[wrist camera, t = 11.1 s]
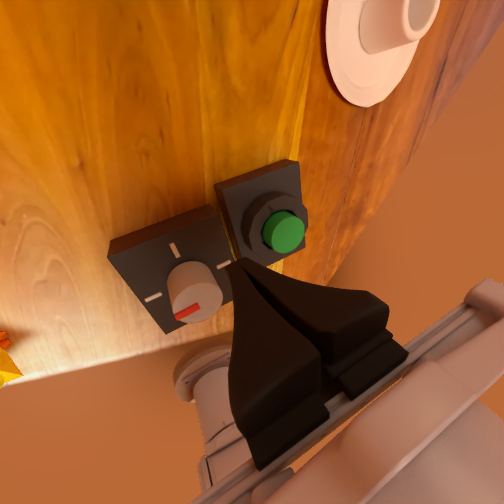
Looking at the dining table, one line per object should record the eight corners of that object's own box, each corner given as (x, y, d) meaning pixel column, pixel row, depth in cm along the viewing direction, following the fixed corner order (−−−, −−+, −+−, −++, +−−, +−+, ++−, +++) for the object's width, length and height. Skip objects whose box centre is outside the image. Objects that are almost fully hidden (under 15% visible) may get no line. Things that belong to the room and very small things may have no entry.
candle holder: (373, 126, 25) (411, 126, 21) (298, 65, 18) (335, 50, 15) (437, -6, 21) (496, -33, 17) (370, -144, 14) (443, -228, 11)
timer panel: (235, 279, 26) (245, 294, 24) (162, 314, 24) (166, 336, 21) (208, 203, 20) (219, 213, 18) (110, 240, 18) (106, 258, 16)
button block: (295, 240, 27) (315, 254, 24) (239, 266, 25) (254, 285, 22) (286, 158, 22) (311, 163, 19) (213, 184, 20) (228, 195, 17)
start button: (295, 237, 22) (306, 244, 21) (265, 251, 21) (274, 259, 20) (291, 205, 20) (303, 210, 19) (258, 219, 19) (268, 226, 18)
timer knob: (202, 253, 19) (215, 276, 16) (216, 285, 21) (230, 310, 18) (158, 273, 18) (163, 302, 15) (178, 304, 20) (185, 334, 17)
